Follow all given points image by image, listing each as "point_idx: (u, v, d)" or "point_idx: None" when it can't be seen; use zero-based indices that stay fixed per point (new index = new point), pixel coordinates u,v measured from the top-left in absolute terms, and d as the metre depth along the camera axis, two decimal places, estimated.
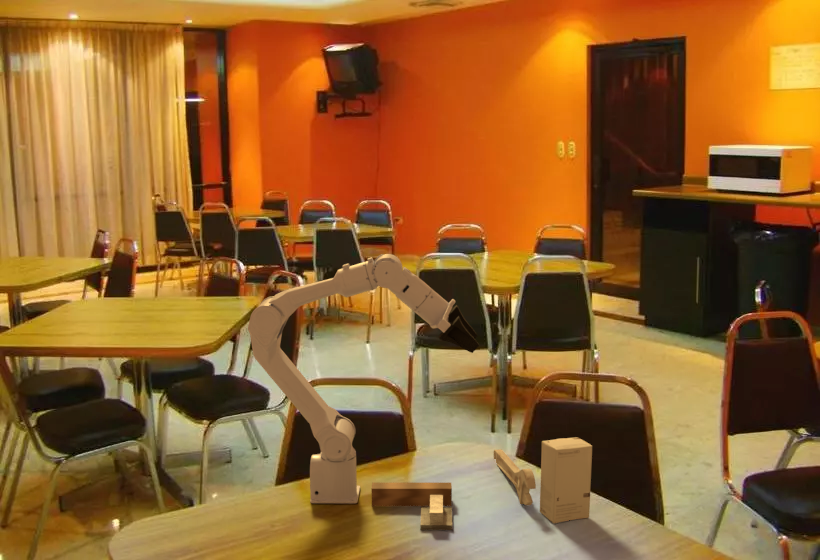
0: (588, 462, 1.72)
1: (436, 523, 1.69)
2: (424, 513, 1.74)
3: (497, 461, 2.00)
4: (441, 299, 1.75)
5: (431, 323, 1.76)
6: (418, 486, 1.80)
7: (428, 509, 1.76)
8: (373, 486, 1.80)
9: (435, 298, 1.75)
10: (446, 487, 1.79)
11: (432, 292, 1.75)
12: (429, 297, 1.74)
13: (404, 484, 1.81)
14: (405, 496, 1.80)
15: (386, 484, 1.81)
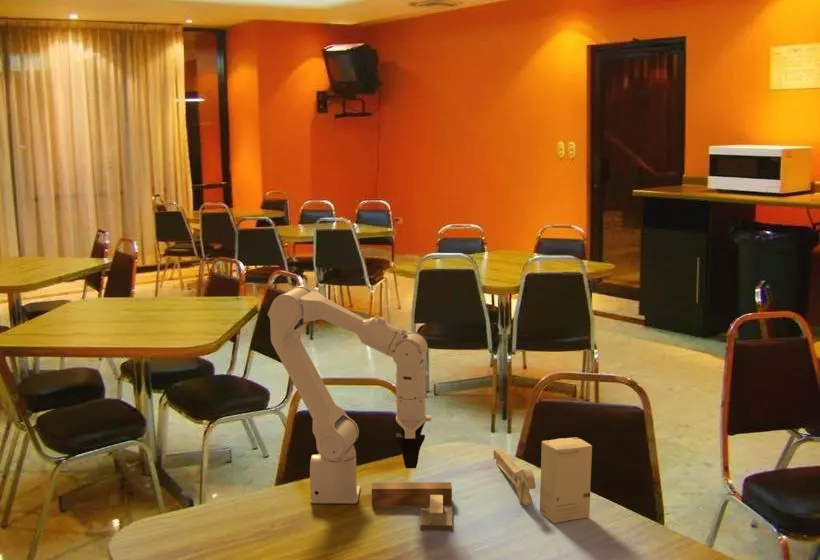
0: (588, 462, 1.72)
1: (436, 523, 1.69)
2: (424, 513, 1.74)
3: (497, 461, 2.00)
4: (424, 409, 1.77)
5: (399, 418, 1.76)
6: (418, 485, 1.80)
7: (428, 509, 1.76)
8: (373, 486, 1.80)
9: (421, 404, 1.76)
10: (446, 487, 1.80)
11: (423, 398, 1.76)
12: (418, 400, 1.75)
13: (404, 484, 1.81)
14: (406, 496, 1.79)
15: (386, 484, 1.81)
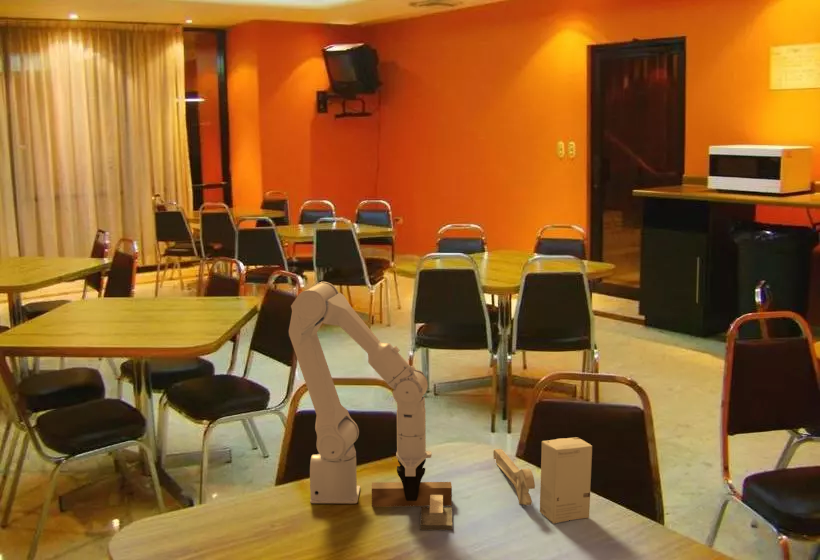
0: (588, 462, 1.72)
1: (436, 523, 1.69)
2: (424, 513, 1.74)
3: (497, 461, 2.00)
4: (424, 446, 1.78)
5: (400, 455, 1.78)
6: None
7: (428, 509, 1.76)
8: (373, 486, 1.80)
9: (422, 442, 1.77)
10: (446, 487, 1.80)
11: (424, 435, 1.77)
12: (419, 437, 1.76)
13: None
14: None
15: (386, 484, 1.81)
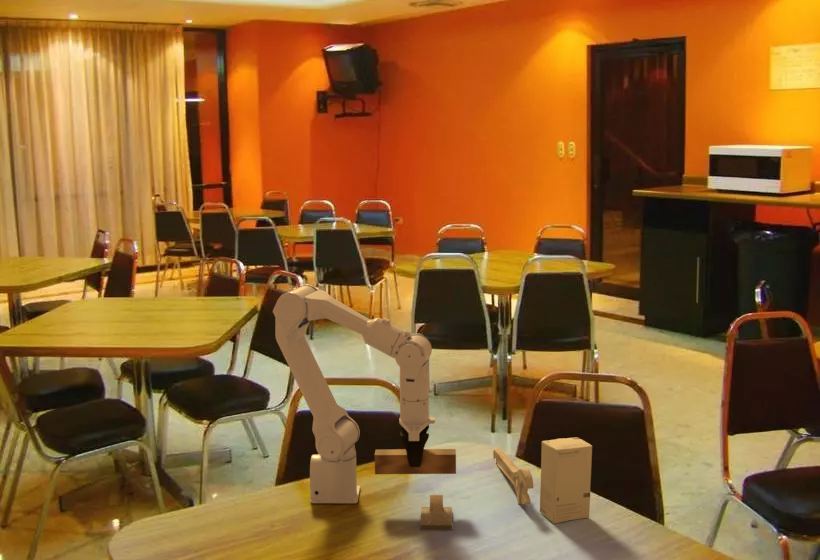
0: (588, 462, 1.72)
1: (436, 523, 1.69)
2: (424, 513, 1.74)
3: (497, 461, 2.00)
4: (427, 411, 1.75)
5: (403, 420, 1.75)
6: None
7: (428, 509, 1.76)
8: (376, 453, 1.78)
9: (425, 407, 1.75)
10: (450, 453, 1.77)
11: (427, 400, 1.75)
12: (422, 402, 1.74)
13: None
14: None
15: (389, 451, 1.79)
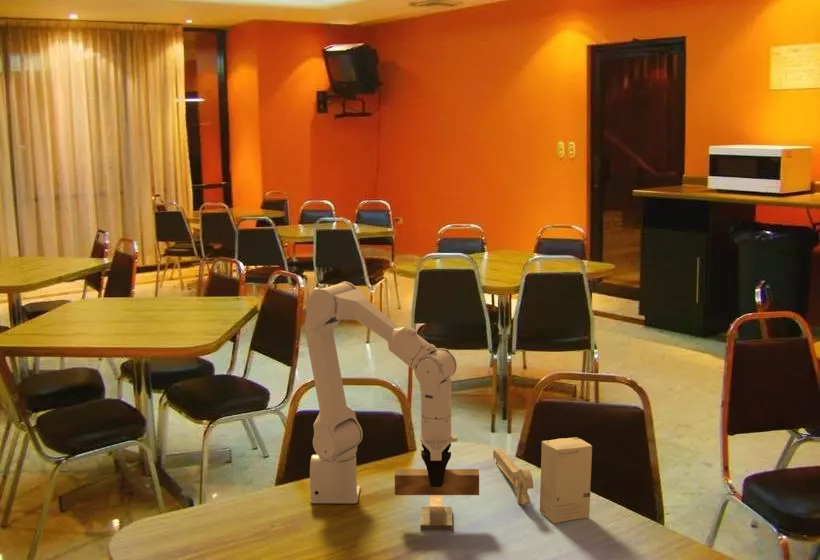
0: (588, 462, 1.72)
1: (436, 523, 1.69)
2: (424, 513, 1.74)
3: (497, 460, 2.00)
4: (450, 429, 1.69)
5: (424, 438, 1.68)
6: None
7: (428, 509, 1.76)
8: (396, 473, 1.71)
9: (447, 424, 1.68)
10: (474, 474, 1.70)
11: (449, 418, 1.68)
12: (444, 420, 1.67)
13: None
14: None
15: (410, 471, 1.72)
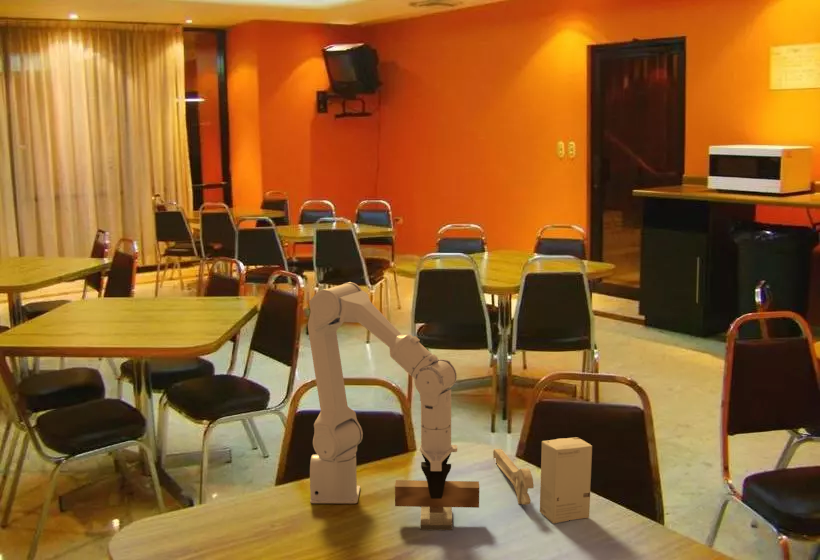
0: (588, 462, 1.72)
1: (436, 523, 1.69)
2: (424, 513, 1.74)
3: (497, 460, 2.00)
4: (450, 439, 1.69)
5: (424, 448, 1.69)
6: None
7: (428, 509, 1.76)
8: (397, 484, 1.72)
9: (447, 435, 1.68)
10: (474, 486, 1.71)
11: (449, 428, 1.69)
12: (444, 430, 1.67)
13: None
14: None
15: (410, 482, 1.73)
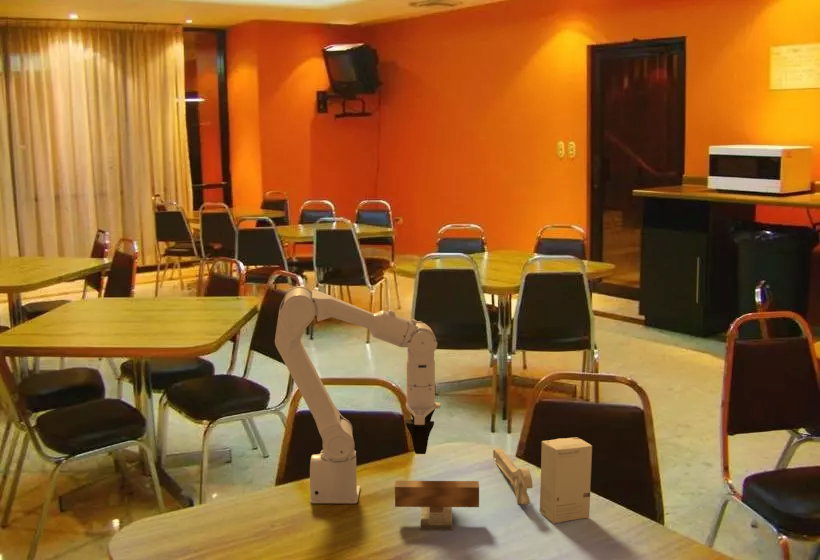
0: (588, 462, 1.72)
1: (436, 523, 1.69)
2: (424, 513, 1.74)
3: (496, 460, 2.01)
4: (433, 396, 1.82)
5: (410, 405, 1.81)
6: (444, 484, 1.72)
7: (428, 509, 1.76)
8: (396, 484, 1.72)
9: (431, 392, 1.81)
10: (474, 486, 1.71)
11: (433, 386, 1.81)
12: (428, 388, 1.80)
13: (429, 482, 1.72)
14: (431, 495, 1.71)
15: (410, 482, 1.73)
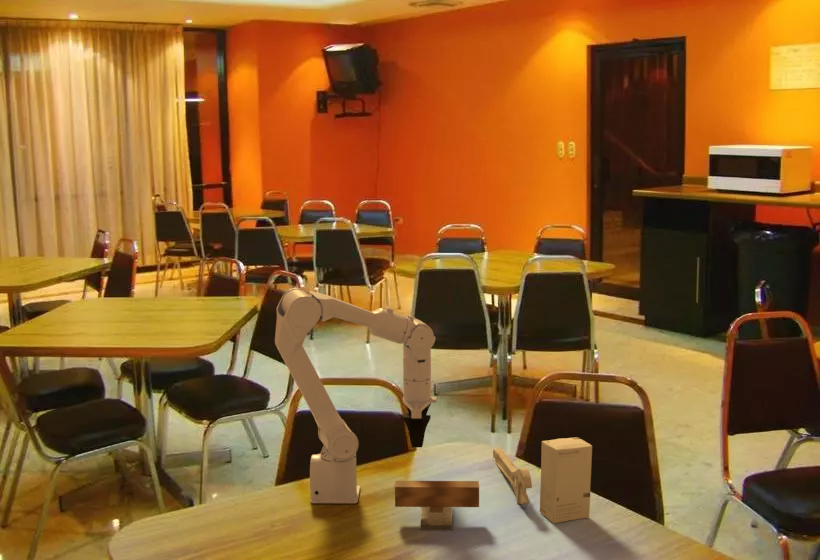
0: (588, 462, 1.72)
1: (436, 523, 1.69)
2: (424, 513, 1.74)
3: (496, 460, 2.01)
4: (429, 391, 1.85)
5: (406, 399, 1.85)
6: (444, 484, 1.72)
7: (428, 509, 1.76)
8: (396, 484, 1.72)
9: (427, 386, 1.84)
10: (474, 486, 1.71)
11: (429, 380, 1.85)
12: (424, 382, 1.84)
13: (429, 482, 1.72)
14: (431, 495, 1.71)
15: (410, 482, 1.73)
